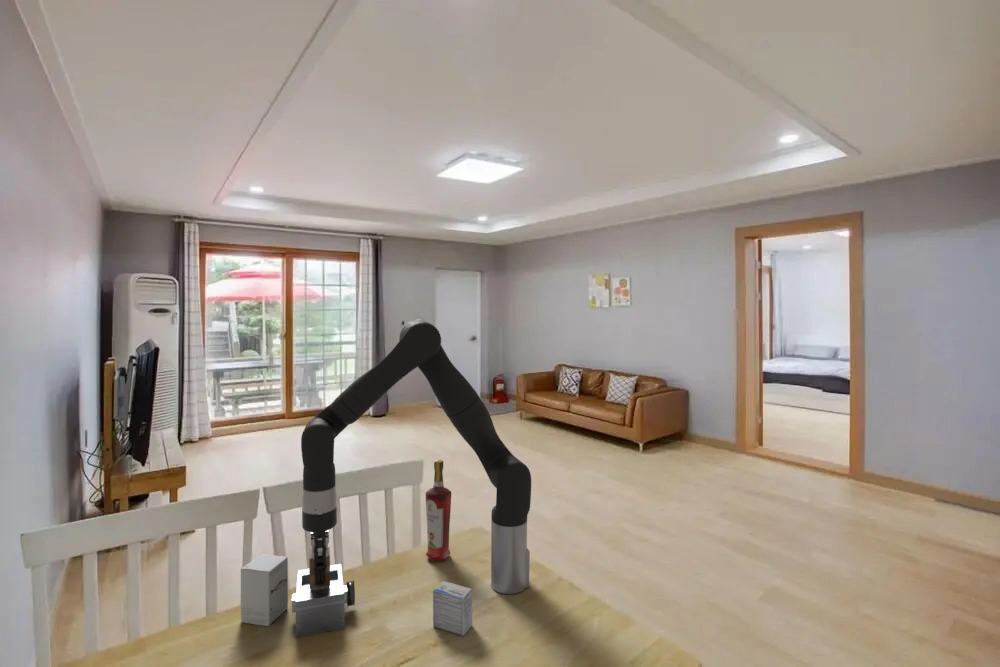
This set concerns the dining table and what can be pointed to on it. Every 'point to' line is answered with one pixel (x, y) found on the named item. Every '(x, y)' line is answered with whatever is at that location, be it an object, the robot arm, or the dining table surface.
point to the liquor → (438, 516)
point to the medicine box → (452, 608)
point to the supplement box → (264, 589)
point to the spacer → (312, 572)
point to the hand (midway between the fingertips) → (320, 578)
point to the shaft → (348, 595)
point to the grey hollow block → (319, 604)
